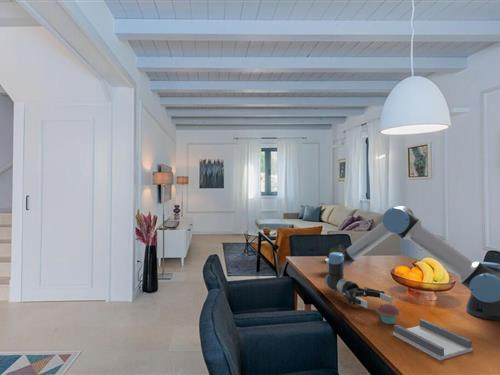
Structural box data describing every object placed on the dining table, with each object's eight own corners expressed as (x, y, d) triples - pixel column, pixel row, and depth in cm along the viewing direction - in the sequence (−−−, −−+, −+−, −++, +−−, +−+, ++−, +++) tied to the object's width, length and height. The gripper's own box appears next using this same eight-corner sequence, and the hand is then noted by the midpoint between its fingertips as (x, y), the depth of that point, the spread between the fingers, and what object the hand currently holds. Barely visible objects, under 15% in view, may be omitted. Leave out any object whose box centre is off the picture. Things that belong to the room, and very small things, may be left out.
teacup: (341, 271, 219) (341, 256, 219) (346, 278, 204) (345, 262, 204) (323, 271, 220) (323, 256, 220) (326, 277, 205) (326, 262, 205)
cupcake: (393, 317, 143) (393, 290, 143) (403, 325, 135) (402, 296, 135) (374, 318, 143) (373, 290, 143) (382, 326, 135) (382, 297, 134)
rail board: (393, 334, 127) (392, 325, 127) (423, 327, 133) (423, 318, 133) (439, 360, 108) (439, 349, 108) (472, 350, 114) (472, 340, 114)
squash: (321, 254, 248) (329, 241, 239) (336, 253, 254) (345, 240, 245) (329, 270, 238) (339, 257, 229) (345, 268, 245) (355, 256, 236)
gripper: (368, 292, 167) (401, 306, 147) (327, 299, 158) (356, 315, 138) (368, 278, 167) (401, 290, 147) (326, 284, 158) (356, 297, 138)
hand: (379, 302), depth 143 cm, fingers open, 13 cm apart
